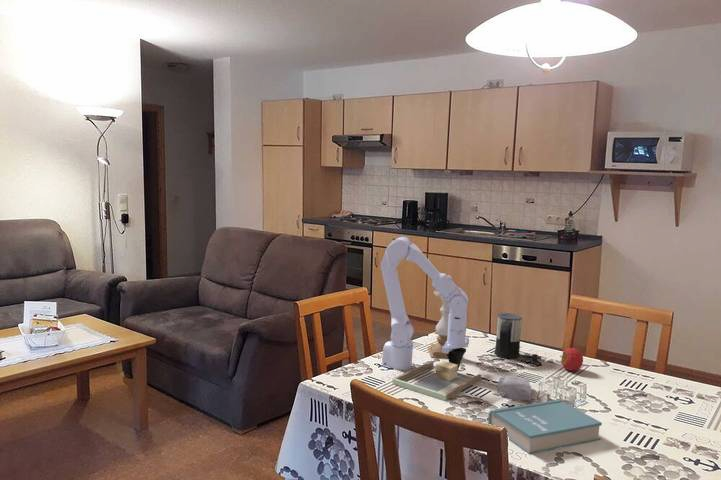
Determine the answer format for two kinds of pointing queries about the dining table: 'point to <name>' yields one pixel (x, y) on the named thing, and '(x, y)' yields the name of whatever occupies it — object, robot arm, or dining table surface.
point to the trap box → (433, 383)
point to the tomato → (572, 359)
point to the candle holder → (441, 331)
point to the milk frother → (510, 337)
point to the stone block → (515, 388)
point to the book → (545, 425)
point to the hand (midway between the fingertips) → (454, 369)
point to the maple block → (446, 370)
